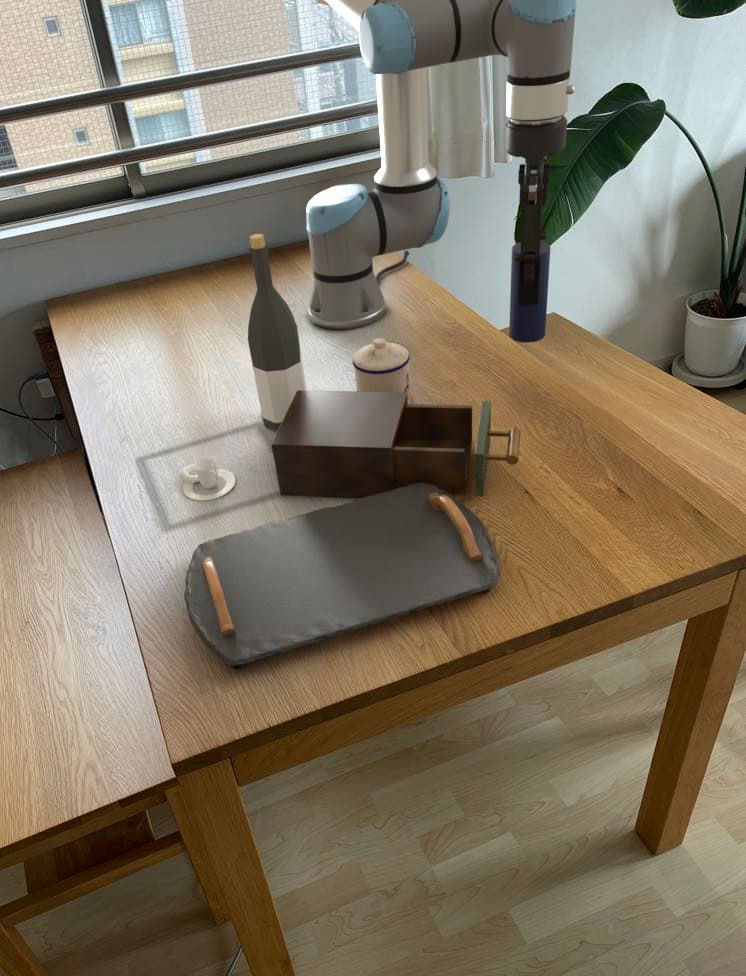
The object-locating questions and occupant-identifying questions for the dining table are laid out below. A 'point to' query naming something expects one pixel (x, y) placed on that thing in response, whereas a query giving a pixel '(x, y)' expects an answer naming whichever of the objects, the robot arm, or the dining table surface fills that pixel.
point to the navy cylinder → (529, 318)
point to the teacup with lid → (382, 368)
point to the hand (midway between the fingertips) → (528, 294)
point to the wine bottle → (273, 342)
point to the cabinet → (338, 443)
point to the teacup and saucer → (206, 479)
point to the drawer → (446, 446)
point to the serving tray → (336, 571)
